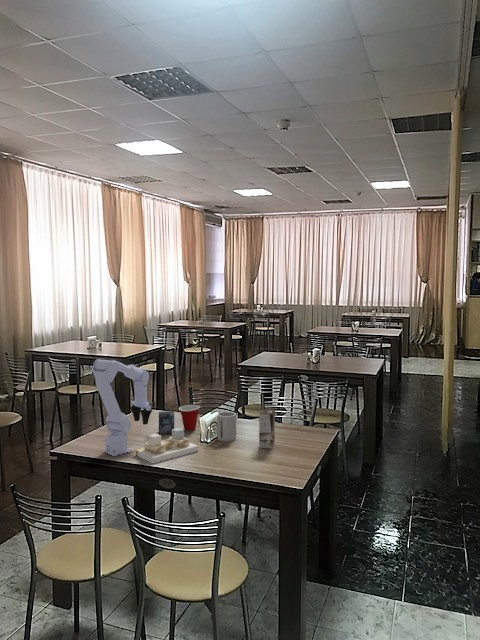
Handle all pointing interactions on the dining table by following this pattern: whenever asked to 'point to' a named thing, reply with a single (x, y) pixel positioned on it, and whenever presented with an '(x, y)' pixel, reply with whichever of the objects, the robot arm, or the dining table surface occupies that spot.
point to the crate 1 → (154, 439)
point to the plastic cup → (189, 416)
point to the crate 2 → (177, 433)
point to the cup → (226, 426)
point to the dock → (166, 453)
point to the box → (166, 422)
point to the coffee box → (266, 428)
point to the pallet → (166, 445)
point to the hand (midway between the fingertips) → (141, 422)
